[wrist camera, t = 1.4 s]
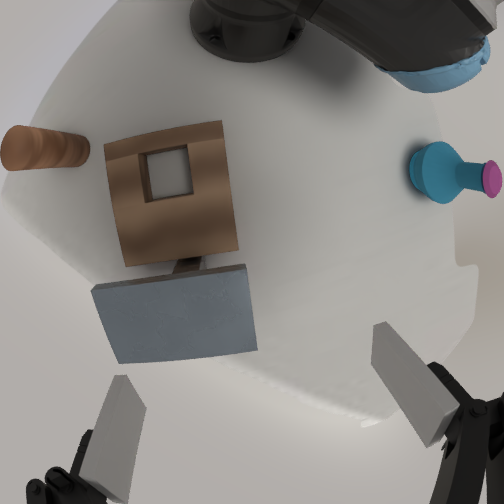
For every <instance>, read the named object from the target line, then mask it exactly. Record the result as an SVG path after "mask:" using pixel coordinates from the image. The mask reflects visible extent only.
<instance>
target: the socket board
mask: <svg viewBox="0 0 504 504" xmlns="http://www.w3.org/2000/svg"><path fill="white" fill-rule="evenodd" d="M187 147H188V155H189V162H190V170H191V177H192V184H193V191H194V193H188V194H182V195H176V196H170V197H165V198H159V199H154V200H153V198H152V191H151V185H150V178H149V171H148V164H147V156H146V155H150V154H155V153H160V152H165V151H170V150H176V149H181V148H187ZM104 152H105V160H106V168H107V176H108V182H109V189H110V195H111V201H112V206H113V212H114V217H115V222H116V227H117V232H118V236H119V241H120V245H121V250H122V254H123V258H124V262H125V266H126V267H129V266H136V265H143V264H149V263H156V262H163V261H169V260H176V259H183V258H190V257H196V256H203V255H210V254H217V253H223V252H230V251H237V250H239V248H238V241H237V233H236V226H235V219H234V211H233V204H232V196H231V188H230V181H229V173H228V165H227V157H226V149H225V141H224V133H223V125H222V120H220V121H213V122H206V123H200V124H193V125H187V126H182V127H176V128H171V129H166V130H161V131H156V132H152V133H147V134H143V135H139V136H134V137H130V138H126V139H123V140H119V141H115V142H111V143H108V144H104Z"/></svg>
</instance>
